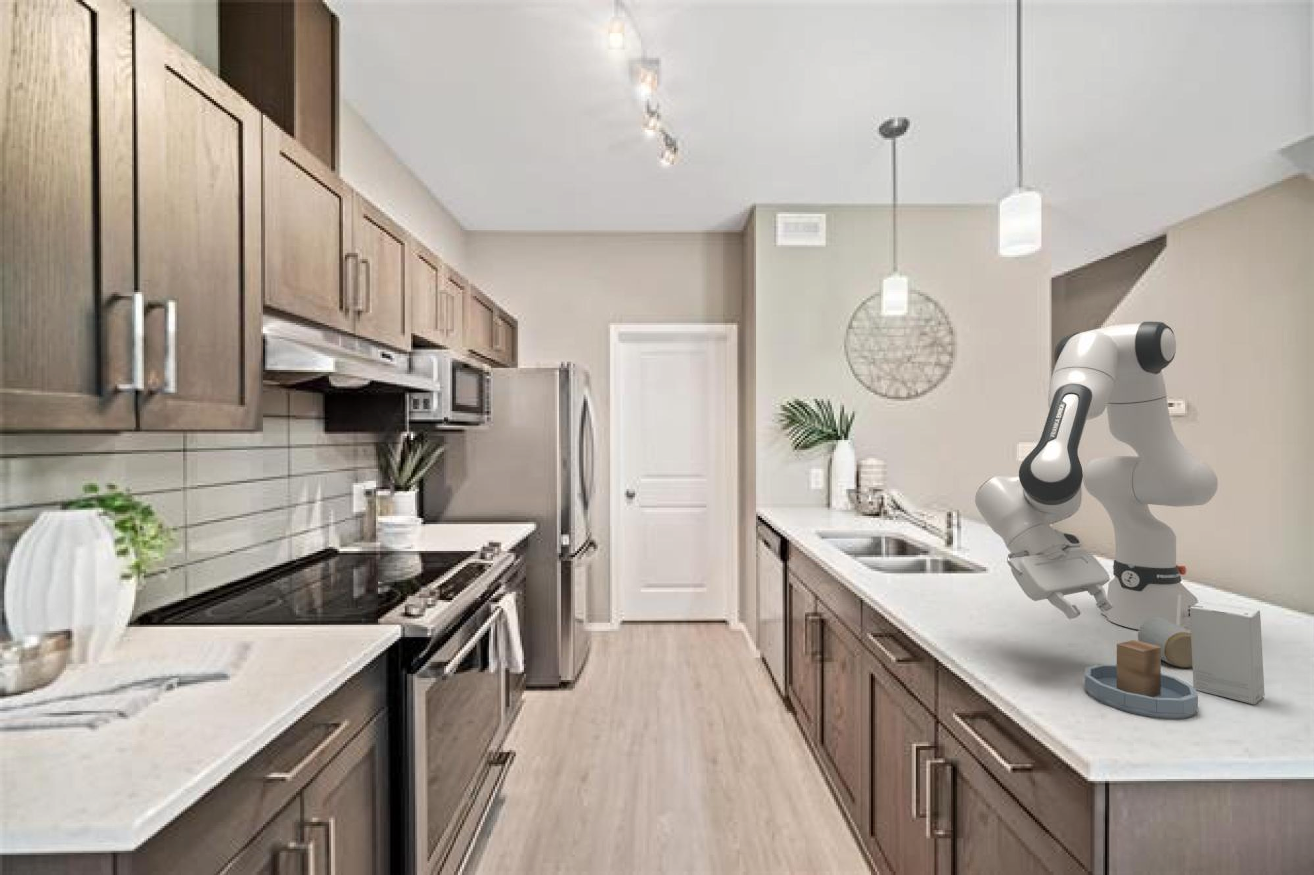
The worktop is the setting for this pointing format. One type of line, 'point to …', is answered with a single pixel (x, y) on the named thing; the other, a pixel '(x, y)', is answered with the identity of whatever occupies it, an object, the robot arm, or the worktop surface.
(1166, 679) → the slate bowl
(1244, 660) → the skincare box
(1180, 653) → the ceramic mug
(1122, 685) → the walnut block
